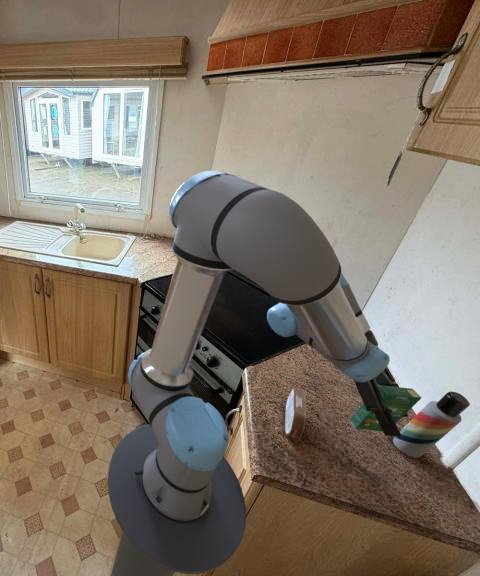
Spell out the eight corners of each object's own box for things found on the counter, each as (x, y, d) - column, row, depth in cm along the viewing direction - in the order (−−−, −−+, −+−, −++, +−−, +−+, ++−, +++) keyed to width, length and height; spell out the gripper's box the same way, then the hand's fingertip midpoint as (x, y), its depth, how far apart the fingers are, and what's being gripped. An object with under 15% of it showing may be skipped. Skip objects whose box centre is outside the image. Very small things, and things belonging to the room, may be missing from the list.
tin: (295, 447, 77) (309, 427, 73) (281, 441, 79) (295, 421, 74) (295, 404, 89) (307, 384, 84) (283, 399, 90) (294, 380, 85)
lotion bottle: (391, 433, 83) (440, 382, 72) (418, 445, 80) (473, 395, 69) (393, 449, 79) (446, 398, 68) (422, 463, 76) (481, 412, 65)
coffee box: (380, 422, 77) (413, 387, 70) (389, 432, 74) (423, 397, 67) (347, 418, 77) (377, 383, 70) (355, 429, 74) (386, 394, 67)
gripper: (345, 321, 81) (386, 402, 80) (318, 353, 70) (365, 449, 68) (381, 315, 75) (426, 402, 73) (358, 350, 63) (410, 454, 62)
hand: (396, 424), depth 71 cm, fingers closed on coffee box, 7 cm apart
